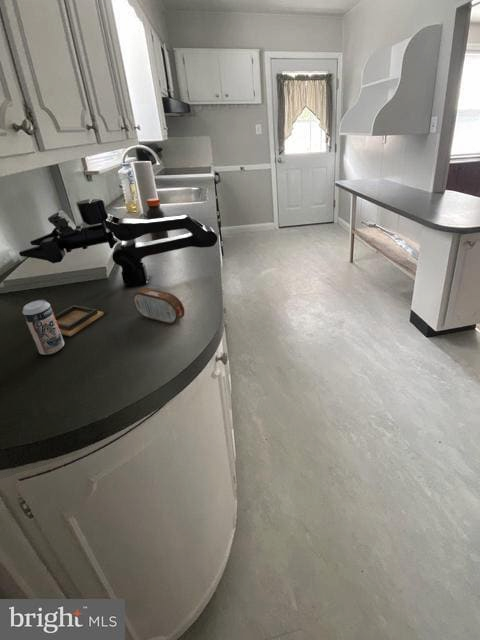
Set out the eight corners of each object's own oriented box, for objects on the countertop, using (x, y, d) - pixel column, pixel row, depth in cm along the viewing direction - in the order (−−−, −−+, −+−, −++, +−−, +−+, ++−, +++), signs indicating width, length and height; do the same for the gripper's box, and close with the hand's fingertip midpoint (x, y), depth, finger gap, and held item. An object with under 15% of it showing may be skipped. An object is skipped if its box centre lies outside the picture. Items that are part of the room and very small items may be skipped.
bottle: (154, 243, 135) (145, 198, 127) (170, 241, 136) (162, 197, 128) (152, 248, 128) (142, 201, 121) (169, 246, 130) (160, 200, 122)
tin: (187, 321, 79) (182, 293, 76) (179, 328, 76) (173, 300, 73) (143, 310, 84) (137, 283, 81) (134, 316, 82) (127, 289, 78)
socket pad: (76, 308, 86) (74, 302, 85) (104, 314, 83) (102, 308, 82) (40, 329, 77) (37, 323, 76) (70, 336, 74) (67, 329, 73)
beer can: (50, 357, 67) (32, 312, 63) (34, 354, 68) (15, 309, 64) (70, 344, 71) (54, 300, 67) (54, 341, 73) (37, 297, 68)
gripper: (84, 203, 94) (24, 212, 89) (71, 218, 78) (-3, 230, 73) (96, 236, 99) (40, 247, 94) (87, 256, 83) (18, 271, 78)
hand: (25, 248), depth 85 cm, fingers open, 9 cm apart
